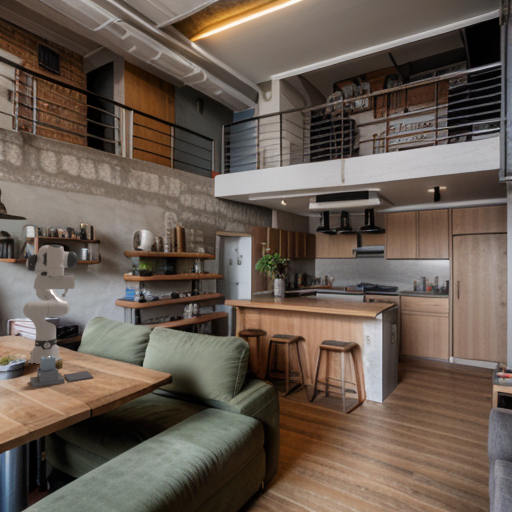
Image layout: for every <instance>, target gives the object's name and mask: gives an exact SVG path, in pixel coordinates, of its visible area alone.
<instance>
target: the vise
mask: <svg viewBox="0 0 512 512" xmlns="http://www.w3.org/2000/svg"><path fill="white" fill-rule="evenodd" d="M45 358H51V356H45ZM36 369H37V371H36V376H32V377H30V378H29V382H30V385H31V384H32V385H31V388H32V389H35V388H34V387H37V388H41V387H40V386H43V387H47V386H46V385H49V386H53V384H55V385H60V383H61V384H65V380H66V378H65V377H64V375H62V373H60V372H59V368H56V366H55V369H53V370H46V371H42V370H41V369H40V366H37V368H36Z"/></svg>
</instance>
